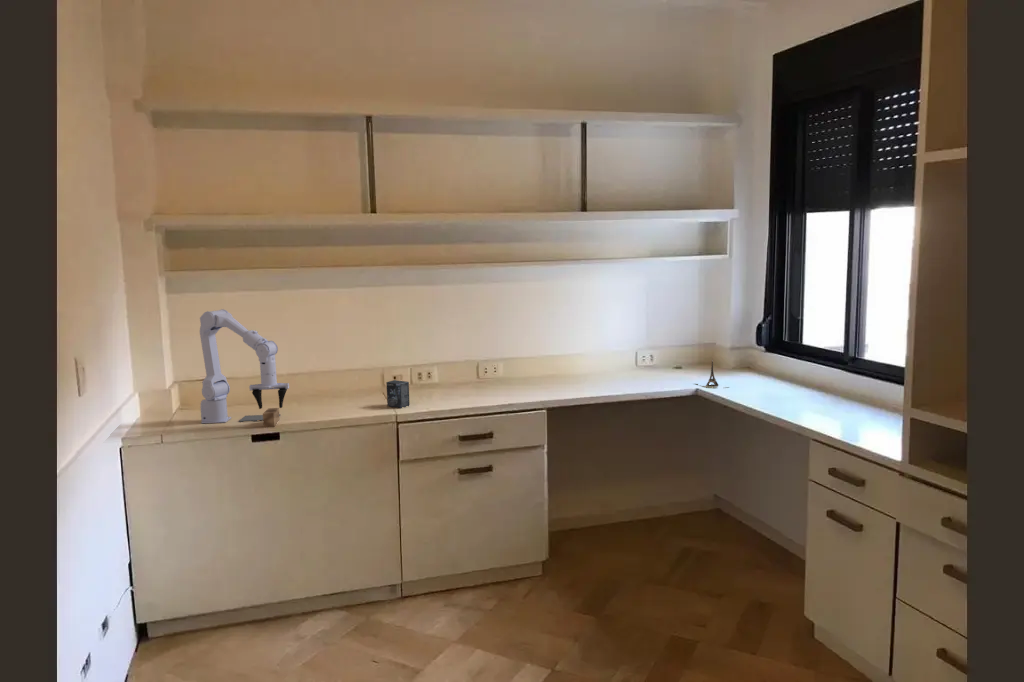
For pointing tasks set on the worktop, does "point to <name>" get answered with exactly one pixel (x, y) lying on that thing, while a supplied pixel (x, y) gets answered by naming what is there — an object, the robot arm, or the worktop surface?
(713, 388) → the eiffel tower figurine
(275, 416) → the walnut block
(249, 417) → the mat
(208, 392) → the robot arm
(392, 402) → the box
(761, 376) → the worktop surface
